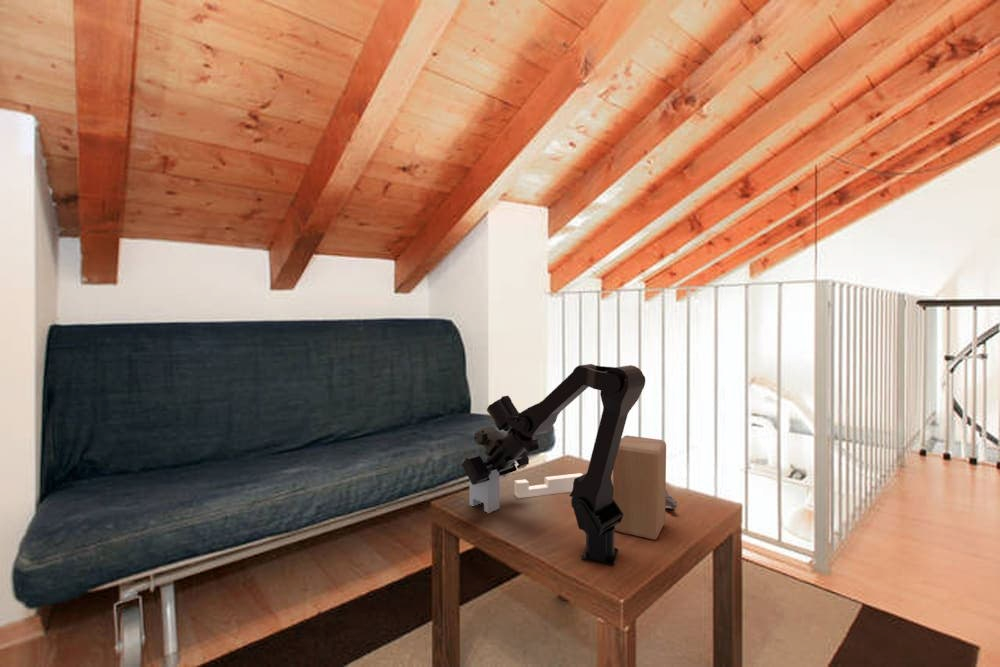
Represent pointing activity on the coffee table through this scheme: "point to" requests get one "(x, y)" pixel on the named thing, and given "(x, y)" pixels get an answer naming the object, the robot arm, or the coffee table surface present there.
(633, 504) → the wooden block
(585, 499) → the robot arm
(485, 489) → the slotted block
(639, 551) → the coffee table surface
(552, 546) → the coffee table surface
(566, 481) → the slotted rail
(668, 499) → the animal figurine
